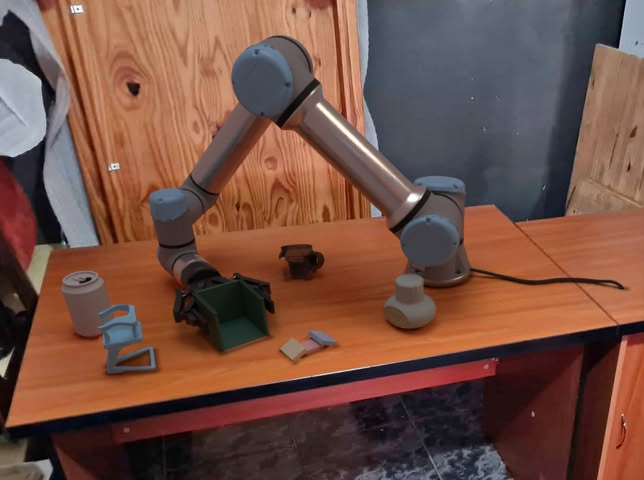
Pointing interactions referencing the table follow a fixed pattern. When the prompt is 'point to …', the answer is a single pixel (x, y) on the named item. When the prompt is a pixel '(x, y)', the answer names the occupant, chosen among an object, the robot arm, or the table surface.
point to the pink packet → (311, 345)
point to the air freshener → (409, 303)
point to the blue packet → (322, 338)
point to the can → (86, 301)
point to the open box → (232, 313)
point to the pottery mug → (301, 260)
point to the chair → (122, 338)
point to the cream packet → (293, 349)
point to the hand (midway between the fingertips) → (240, 318)
